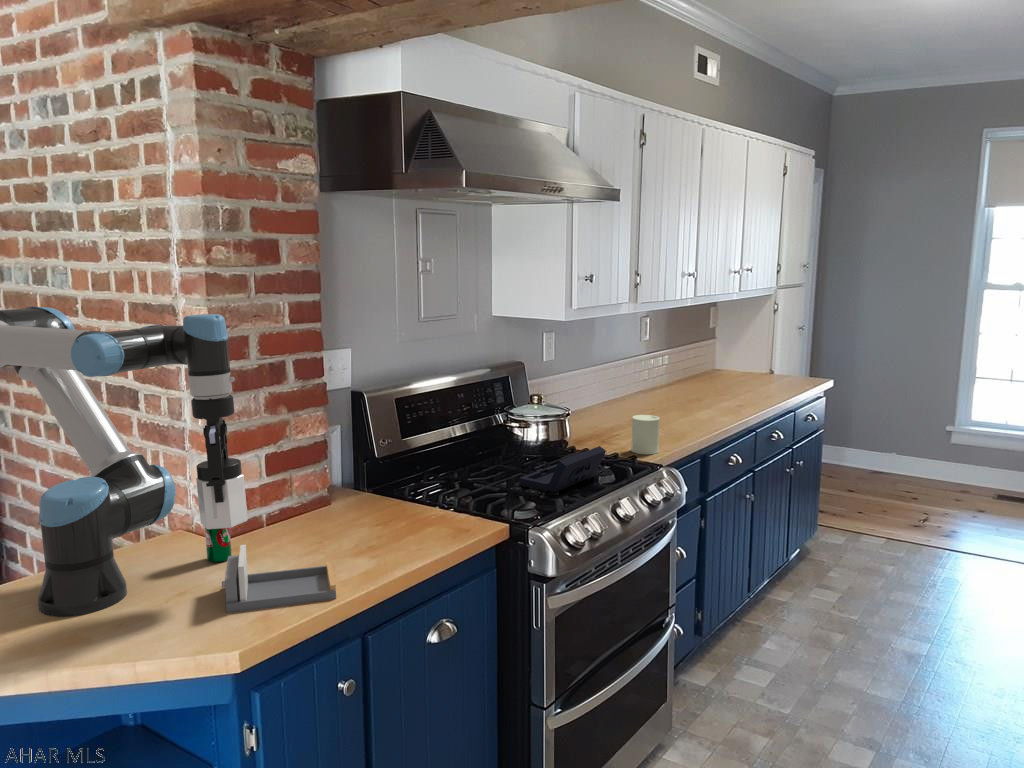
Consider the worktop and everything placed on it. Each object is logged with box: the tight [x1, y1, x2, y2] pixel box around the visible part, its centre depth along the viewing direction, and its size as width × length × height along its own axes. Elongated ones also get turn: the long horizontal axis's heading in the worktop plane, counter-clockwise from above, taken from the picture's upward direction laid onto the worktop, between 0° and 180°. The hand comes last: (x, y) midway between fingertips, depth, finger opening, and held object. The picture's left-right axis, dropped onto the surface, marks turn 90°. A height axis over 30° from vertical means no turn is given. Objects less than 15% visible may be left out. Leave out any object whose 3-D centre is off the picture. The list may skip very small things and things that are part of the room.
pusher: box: [221, 544, 248, 601], centre depth 153 cm, size 4×11×8 cm, turn 17°
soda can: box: [204, 527, 233, 564], centre depth 173 cm, size 5×5×12 cm
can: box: [630, 414, 661, 456], centre depth 264 cm, size 9×9×12 cm
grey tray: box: [224, 555, 337, 614], centre depth 156 cm, size 20×13×7 cm, turn 107°
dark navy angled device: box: [518, 445, 607, 493], centre depth 230 cm, size 21×16×10 cm
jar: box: [195, 457, 248, 529], centre depth 153 cm, size 9×8×12 cm
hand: (223, 511), depth 154 cm, fingers closed on jar, 7 cm apart
